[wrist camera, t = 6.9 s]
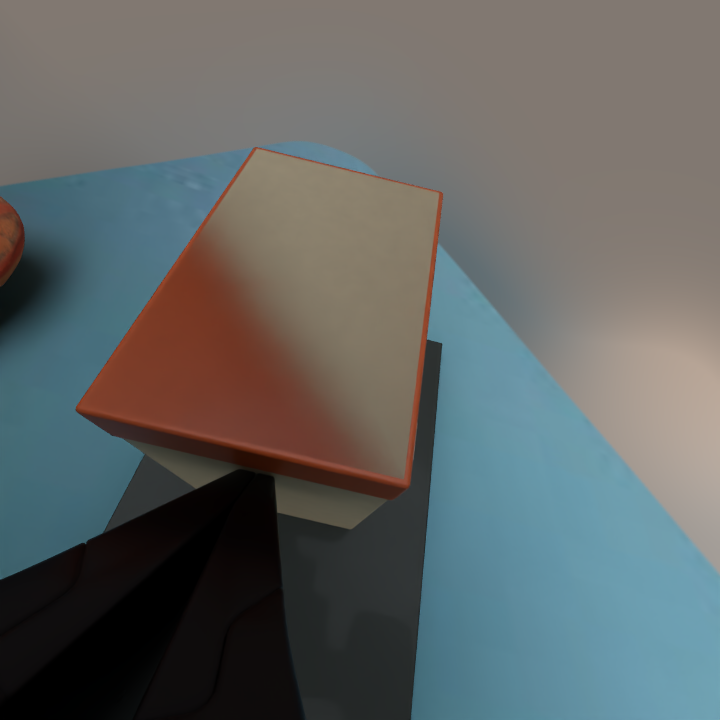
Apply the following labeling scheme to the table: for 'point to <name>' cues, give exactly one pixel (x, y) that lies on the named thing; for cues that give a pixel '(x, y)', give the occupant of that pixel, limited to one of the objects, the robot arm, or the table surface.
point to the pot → (9, 240)
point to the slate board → (344, 583)
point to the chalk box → (286, 340)
